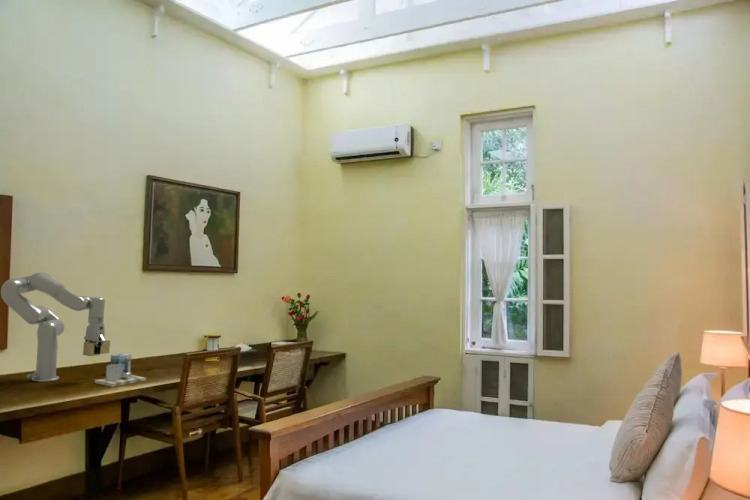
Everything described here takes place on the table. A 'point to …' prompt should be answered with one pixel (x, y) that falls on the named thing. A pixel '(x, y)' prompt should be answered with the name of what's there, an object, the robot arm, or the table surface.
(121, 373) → the steel hinge leaf
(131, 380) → the white mounting board
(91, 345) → the tan piece
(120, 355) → the light bulb box
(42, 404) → the table surface
